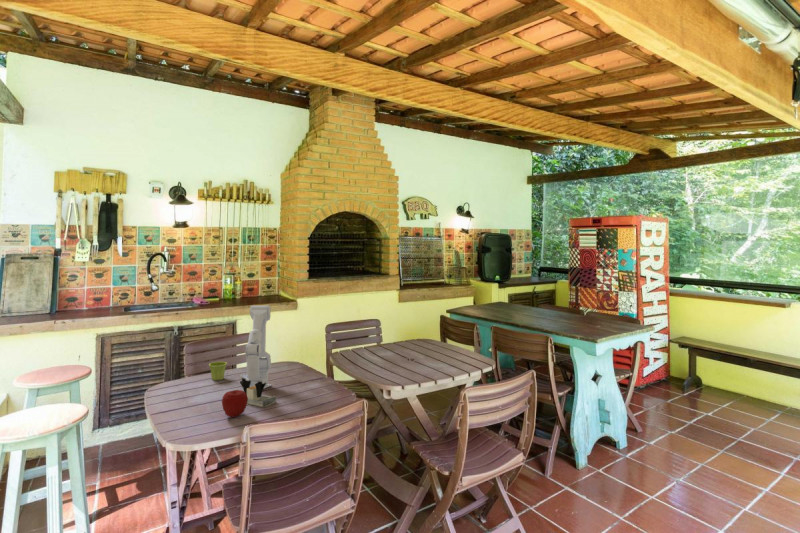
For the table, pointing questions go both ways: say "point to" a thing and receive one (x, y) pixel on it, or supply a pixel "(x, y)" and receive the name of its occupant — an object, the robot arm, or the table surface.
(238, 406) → the apple
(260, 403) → the grey piece
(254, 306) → the robot arm
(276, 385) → the table surface
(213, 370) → the plant pot
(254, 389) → the block
